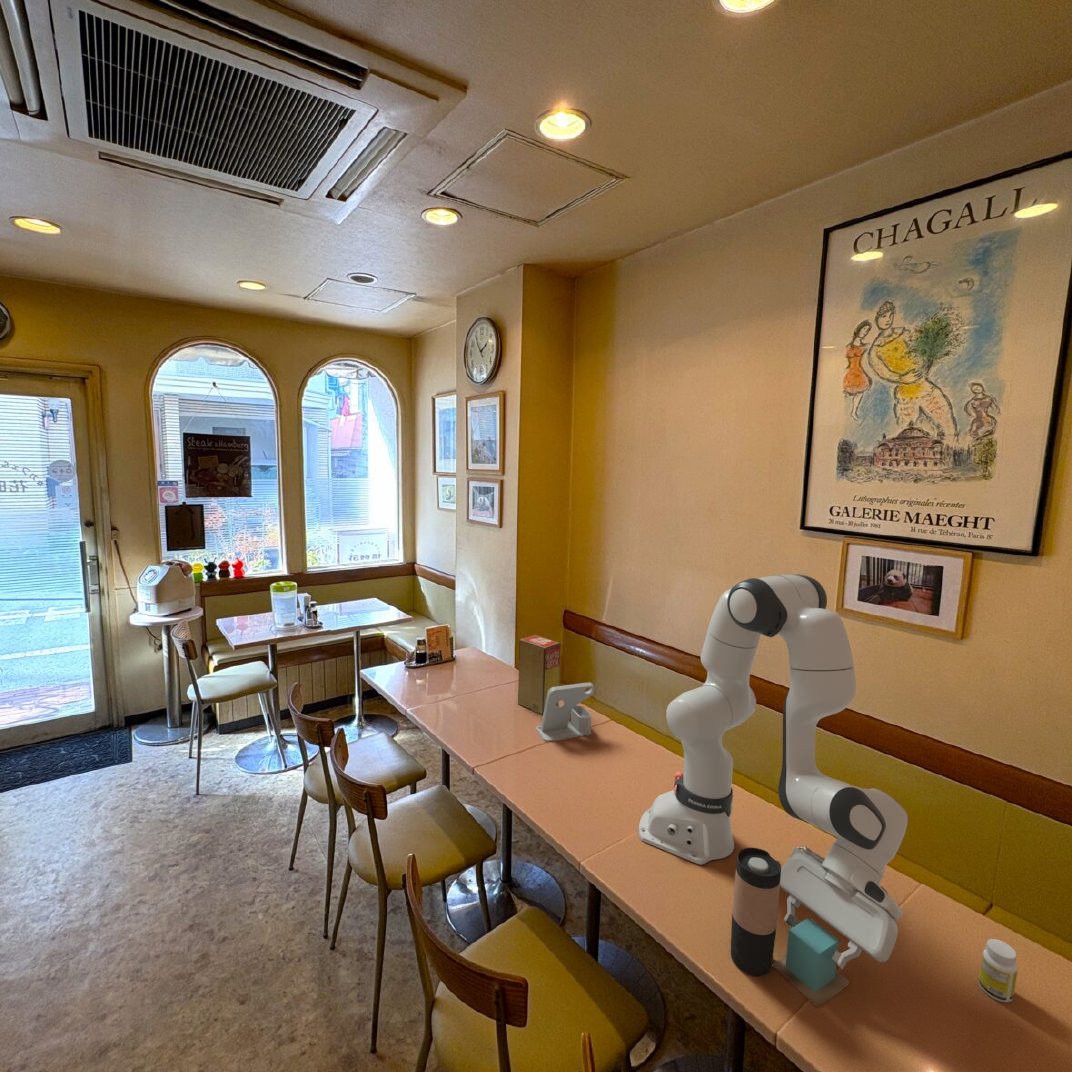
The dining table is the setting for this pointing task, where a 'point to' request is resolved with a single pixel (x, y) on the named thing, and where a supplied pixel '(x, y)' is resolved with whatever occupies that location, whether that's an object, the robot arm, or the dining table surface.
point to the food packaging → (537, 671)
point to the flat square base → (815, 998)
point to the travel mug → (755, 911)
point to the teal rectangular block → (811, 954)
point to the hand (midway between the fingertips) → (811, 944)
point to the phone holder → (566, 713)
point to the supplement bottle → (998, 971)
